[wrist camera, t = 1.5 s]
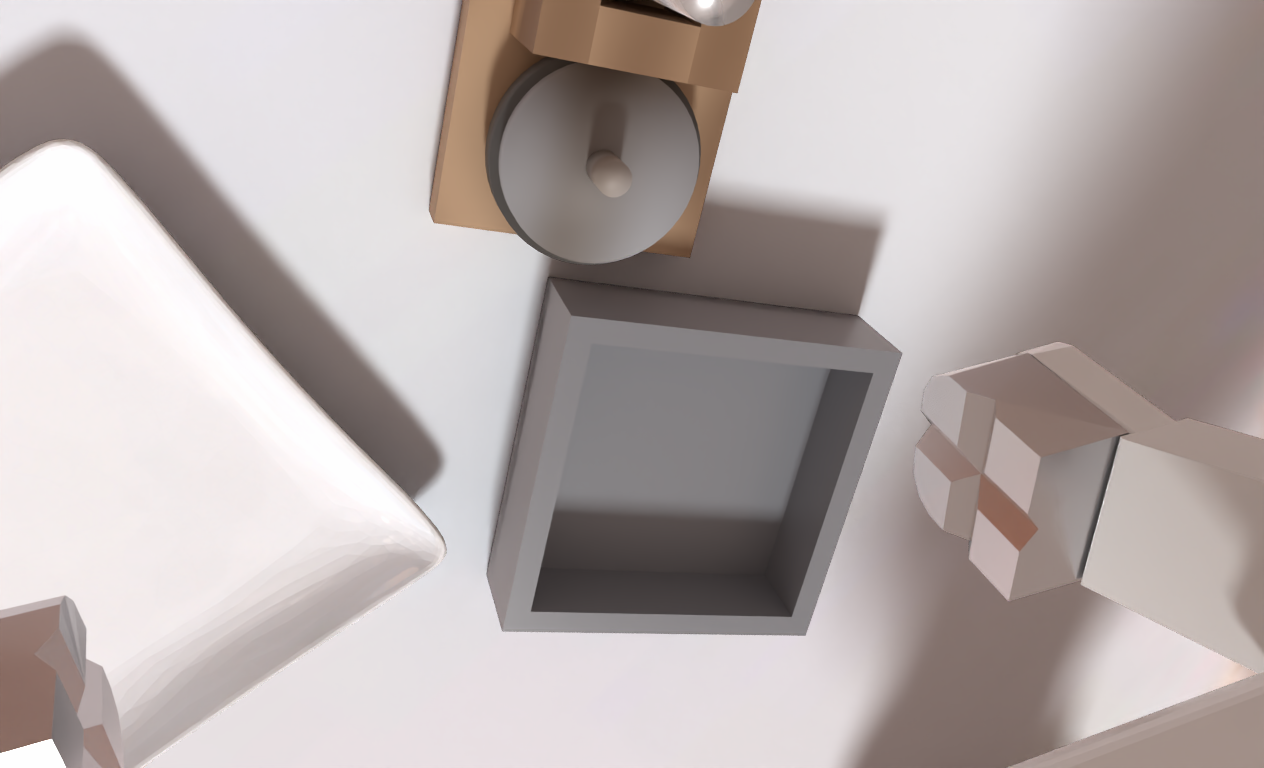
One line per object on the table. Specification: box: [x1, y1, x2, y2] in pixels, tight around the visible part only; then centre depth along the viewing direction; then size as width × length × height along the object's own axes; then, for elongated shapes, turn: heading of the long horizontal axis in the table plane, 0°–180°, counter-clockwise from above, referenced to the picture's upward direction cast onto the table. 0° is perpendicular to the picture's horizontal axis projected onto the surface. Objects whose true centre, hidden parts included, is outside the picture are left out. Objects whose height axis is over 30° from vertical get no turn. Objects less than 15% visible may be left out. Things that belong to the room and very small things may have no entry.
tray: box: [487, 277, 902, 636], centre depth 48 cm, size 14×14×4 cm
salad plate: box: [0, 139, 447, 768], centre depth 42 cm, size 21×21×3 cm
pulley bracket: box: [429, 0, 761, 265], centre depth 39 cm, size 10×14×6 cm
